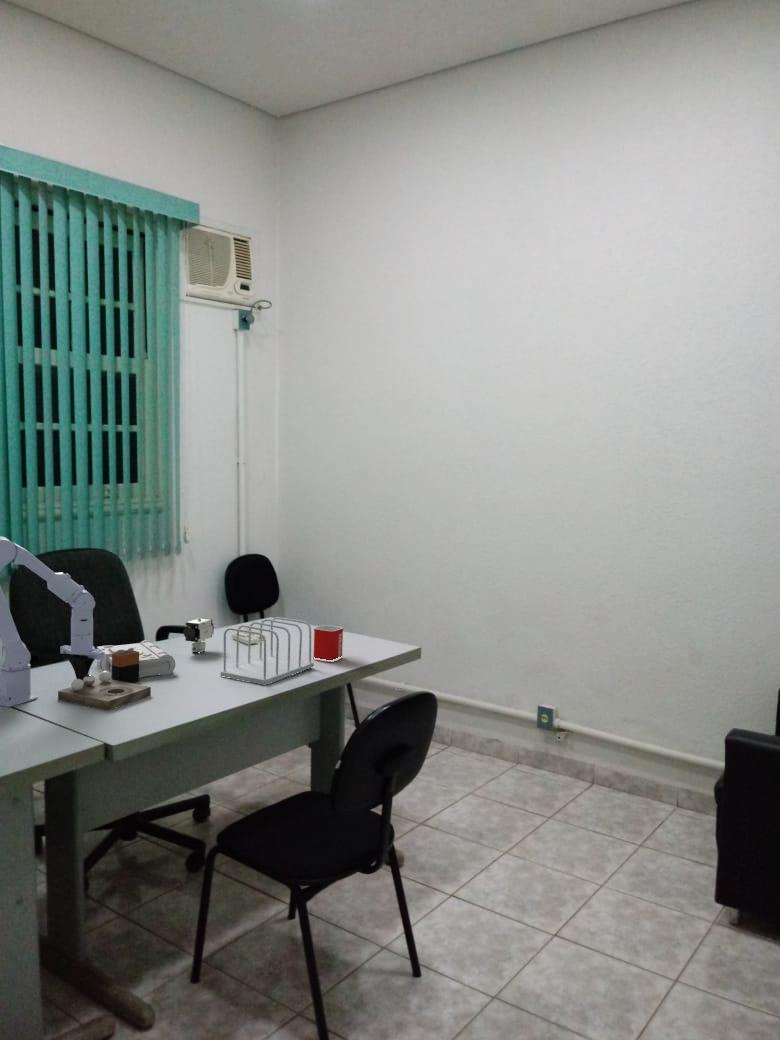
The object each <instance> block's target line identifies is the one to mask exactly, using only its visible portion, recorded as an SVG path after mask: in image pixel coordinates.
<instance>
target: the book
mask: <svg viewBox="0 0 780 1040" xmlns="http://www.w3.org/2000/svg"><path fill="white" fill-rule="evenodd" d="M129 648H133V649H134V651H137V652H139V678H143V677H144V678H145V677H151V676H152V677H153V676H158V675H159V674H160V675H159V676H165V675H164V674H169V675H171V674H172V673H173V672H174V670H175V667H176V661H175V659H174V656H172V655H170V654H169V653H168V652H166V651H165V650H163V649H161V648H160V647H159V646H158V645H157V644H155V643H154V642H153V641H151V640H149V639H147V640H146V639H145V640H142V641H140V642H139V643H138V642H137V643H129V644H120V645H112V644H111V645H110V644H109V645H102V646H101V645H100V646H96V649H97V650H99V651H102V652H104V659H101V660H96V662H97V663H98V664H97V663H96V664H97V665H98V666H99V665H100V666H102V667H101V668H102V672H103V671H108V672H110V674H111V677H112V654H113V653H116V652H117V650H125V651H126V650H128V649H129ZM100 666H99V667H100Z"/></svg>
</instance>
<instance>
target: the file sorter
mask: <svg viewBox="0 0 780 1040" xmlns="http://www.w3.org/2000/svg"><path fill="white" fill-rule="evenodd" d="M286 621H288V622H286ZM265 622H270V624H269V623H265ZM293 622H295V623H293ZM274 623H277V624H283V625H289V626H294V627H296V628H297V629H298V631H299V644H298V645H299V648H298V659H295V658H294V659H293V658H291V633H290V631H289V629H288V628H287V627H285V626H279V625H276V624H274ZM297 623H302V624H305V625H306V626H308V627H307V628H308V631H309V632H308V633H309V635H308V636H309V637H308V638H309V639H308V644H309V645H308V661H305V660H302V647H303V646H302V643H303V641H302V640H303V631H302V628H301V626H300V625H299V624H297ZM253 625H259V627H257V626H253ZM263 626H264V627H270V629H267V628H263ZM241 628H246V629H248V630H246V629H241ZM274 628H276V629H280V630H285V632H286V633H287V637H288V638H287V642H288V644H287V646H288V647H287V657H282V656H279V648H280V643H279V641H280V640H279V635H278V634H277V632H276V631H275V630H274ZM252 630H257V631H252ZM228 631H234V632H235V631H236V657H235V658H236V664H235V665H236V666H235V667H231V668H229V669H227V656H226V655H227V632H228ZM258 631H259V632H258ZM263 632H268V633H270V655H269V656H267V639H266V637H265V635H264V634H263ZM240 633H247V634H248V647H247V649H248V652H247V656H248V657H247V659H248V661H247V662H246V663H244V664H241V665H239V654H240V653H239V652H240V651H239V649H240V648H239V647H240V645H239V644H240ZM254 634H255V635H258V636H259V659H256V660H253V661H251V650H252V649H251V648H252V647H251V641H252V640H251V639H252V638H251V637H252V635H254ZM274 635H275V639H276V648H275V649H276V655H274V653H273V651H274V650H273V648H274V647H273V646H274V645H273V643H274V641H273V639H274V638H273V637H274ZM262 648H263V649H262ZM262 651H263V652H262ZM262 653H263V654H262ZM262 655H263V658H262ZM313 666H314V667H315V664H314V662H313V661H312V627H311V625H310V623H309V622H307V621H306V620H301V619H294V618H287V617H279V616H278V617H277V616H276V617H274V618H272V619H269V618H266V619H263V620H262V621H260V622H259V621H255V622H251V623H250V625H246V624H241V625H240V626H239V627H238V628H233V627H228V628H227V629H225V630H224V632H223V670H221V671H220V677H221V676H225V677H230V678H234V679H233V680H235V679H239V680H238V681H240V680H244V681H243V682H245V681H249V682H248V683H250V682H254V683H253V684H255V683H258V684H257V685H260V684H263V685H262V686H267V685H266V684H268V685H270V684H272V683H271V682H273V683H275V682H274V681H276V682H278V681H277V680H279V681H281V680H283V679H282V678H284V679H286V678H285V677H287V676H289V677H291V676H290V675H292V674H295V673H297V672H300V673H302V672H301V671H303V670H306V669H308V668H311V667H313ZM306 671H307V670H306ZM303 672H304V671H303ZM295 675H296V674H295ZM292 676H293V675H292ZM287 678H288V677H287ZM280 679H281V680H280ZM269 683H270V684H269Z"/></svg>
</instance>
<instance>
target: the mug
mask: <svg viewBox="0 0 780 1040" xmlns="http://www.w3.org/2000/svg"><path fill="white" fill-rule="evenodd" d="M313 635H314V636H313V658H314V657H315V658H320V659H326V660H333V659H336V658H338V657H341V656H342V657H343V646H344V645H343V641H344V639H343V638H344V627H343V626H337V625H329V624H322V625H318V626H316V627H313Z"/></svg>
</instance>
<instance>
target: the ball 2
mask: <svg viewBox="0 0 780 1040" xmlns="http://www.w3.org/2000/svg"><path fill="white" fill-rule="evenodd" d="M98 679H100V681H102V682H108V681H109V680H110V679H112V678H111V674H110V672H108V671H103V670H102V671H101V672H100V673H99V675H98Z"/></svg>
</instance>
